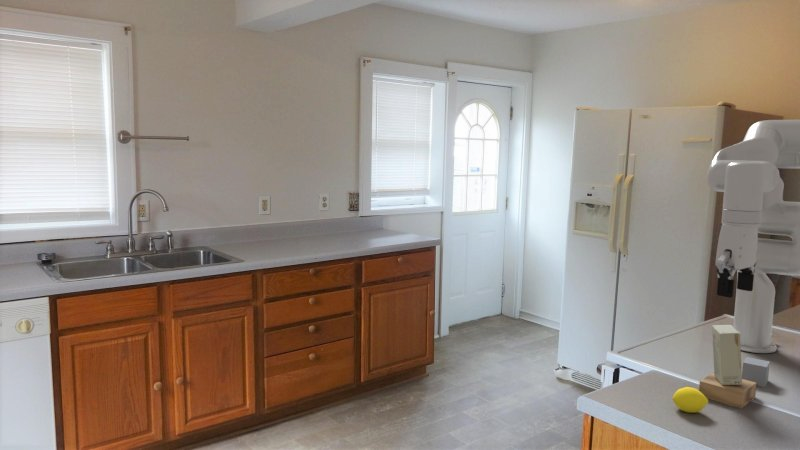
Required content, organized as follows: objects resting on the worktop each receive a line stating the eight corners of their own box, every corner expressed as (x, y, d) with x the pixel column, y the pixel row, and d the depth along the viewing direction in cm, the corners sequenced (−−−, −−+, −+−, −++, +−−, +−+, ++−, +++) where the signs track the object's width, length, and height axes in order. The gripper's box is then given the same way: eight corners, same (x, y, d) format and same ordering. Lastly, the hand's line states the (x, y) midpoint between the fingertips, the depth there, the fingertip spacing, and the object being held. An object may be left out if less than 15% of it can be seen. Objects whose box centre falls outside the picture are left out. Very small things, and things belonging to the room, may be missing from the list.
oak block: (713, 387, 141) (714, 371, 140) (755, 399, 134) (756, 382, 133) (698, 397, 135) (699, 381, 134) (741, 410, 128) (742, 393, 127)
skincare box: (742, 385, 130) (741, 333, 129) (721, 385, 131) (720, 334, 130) (733, 373, 137) (732, 323, 135) (713, 373, 138) (711, 324, 136)
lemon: (672, 415, 126) (669, 390, 125) (674, 405, 130) (672, 382, 130) (708, 418, 122) (706, 393, 122) (710, 408, 127) (708, 384, 126)
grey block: (744, 376, 147) (746, 356, 146) (767, 381, 144) (769, 361, 143) (741, 382, 143) (743, 362, 142) (765, 387, 140) (767, 367, 139)
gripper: (740, 213, 137) (734, 284, 140) (705, 218, 127) (699, 295, 129) (776, 217, 131) (769, 291, 134) (741, 222, 121) (734, 302, 123)
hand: (734, 293), depth 132 cm, fingers open, 9 cm apart
